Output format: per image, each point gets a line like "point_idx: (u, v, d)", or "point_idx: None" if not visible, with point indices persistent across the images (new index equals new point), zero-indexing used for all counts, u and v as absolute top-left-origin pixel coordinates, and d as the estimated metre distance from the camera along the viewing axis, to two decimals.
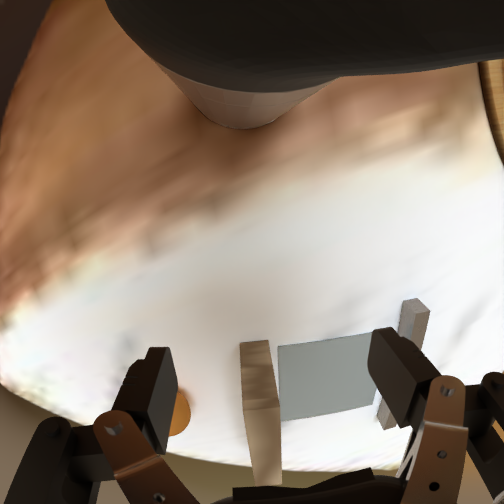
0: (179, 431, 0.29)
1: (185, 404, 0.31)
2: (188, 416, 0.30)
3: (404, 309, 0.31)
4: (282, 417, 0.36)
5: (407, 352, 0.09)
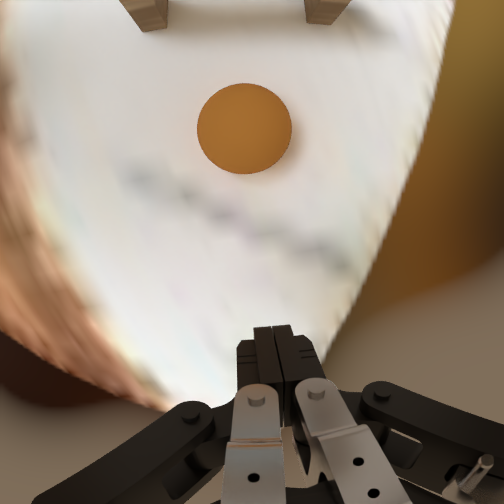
0: (261, 95, 0.16)
1: None
2: None
3: None
4: None
5: (292, 350, 0.10)
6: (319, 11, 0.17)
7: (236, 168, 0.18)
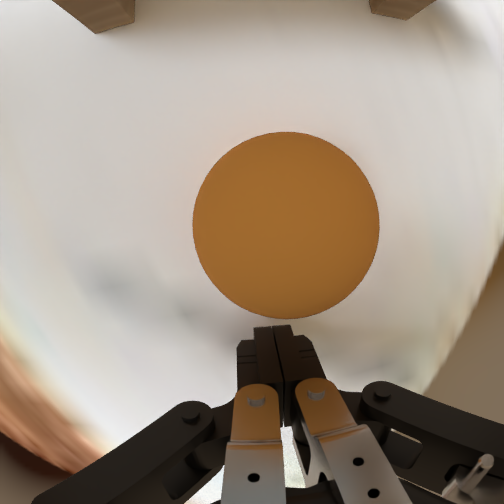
0: (334, 172, 0.07)
1: (241, 143, 0.09)
2: (281, 133, 0.08)
3: None
4: None
5: (292, 350, 0.10)
6: None
7: None
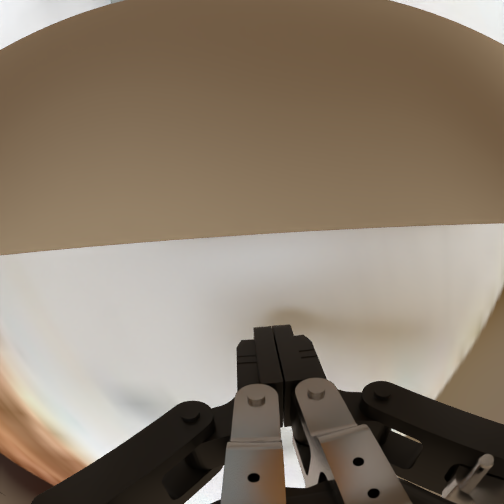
0: None
1: None
2: None
3: None
4: None
5: (292, 350, 0.10)
6: None
7: None
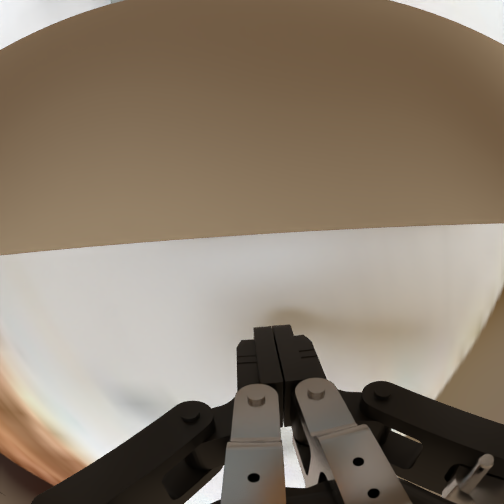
0: None
1: None
2: None
3: None
4: None
5: (292, 350, 0.10)
6: None
7: None
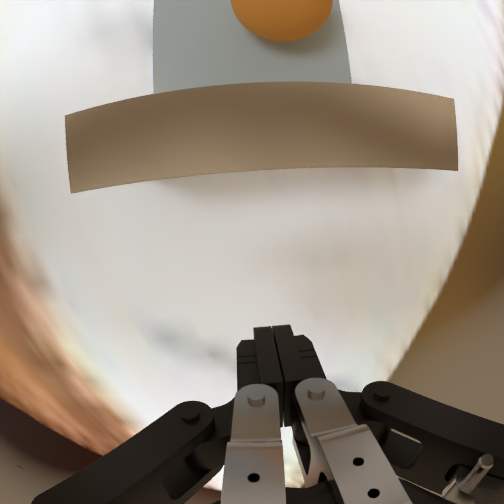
0: None
1: None
2: None
3: None
4: None
5: (292, 350, 0.10)
6: None
7: (282, 21, 0.12)
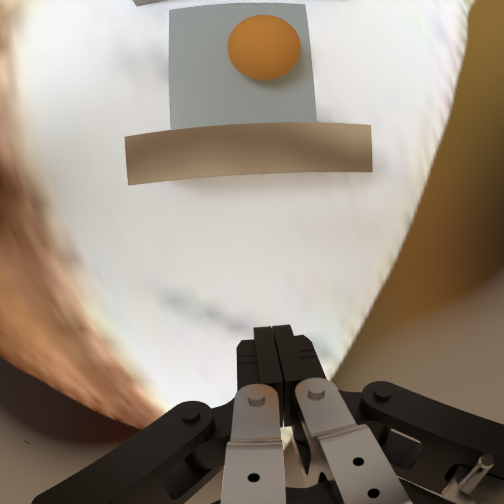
0: (277, 18, 0.18)
1: None
2: None
3: (142, 2, 0.20)
4: (307, 121, 0.25)
5: (292, 350, 0.10)
6: None
7: (263, 68, 0.20)
